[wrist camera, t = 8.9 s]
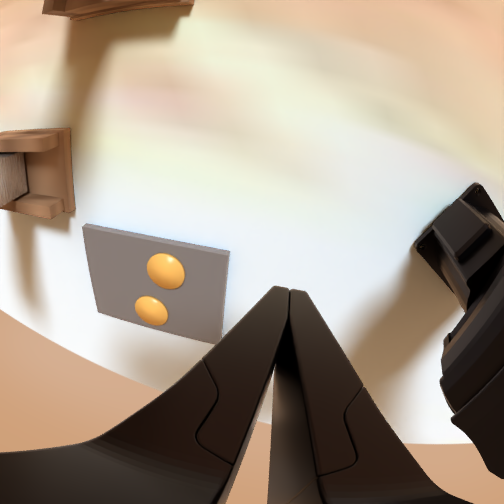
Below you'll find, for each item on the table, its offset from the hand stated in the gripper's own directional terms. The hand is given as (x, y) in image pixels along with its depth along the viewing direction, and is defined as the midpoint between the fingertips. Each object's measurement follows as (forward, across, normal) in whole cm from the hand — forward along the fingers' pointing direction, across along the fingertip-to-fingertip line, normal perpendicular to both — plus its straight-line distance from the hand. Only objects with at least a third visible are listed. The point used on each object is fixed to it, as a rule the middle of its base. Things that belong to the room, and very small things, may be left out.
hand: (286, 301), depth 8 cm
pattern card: (+12, +10, +11) cm, 19 cm away
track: (+12, +21, +2) cm, 24 cm away
